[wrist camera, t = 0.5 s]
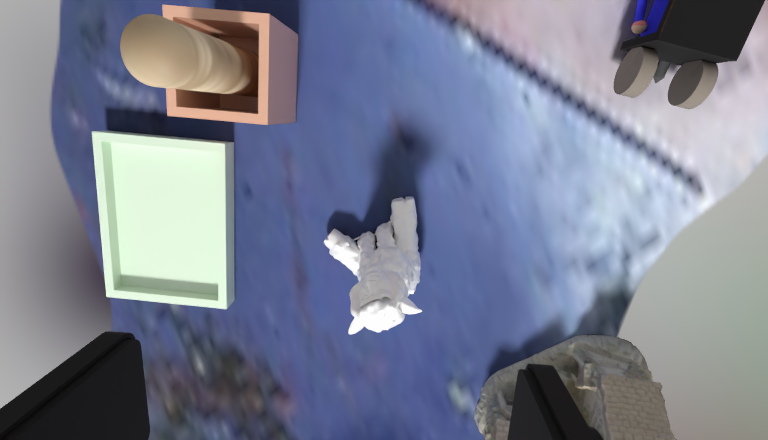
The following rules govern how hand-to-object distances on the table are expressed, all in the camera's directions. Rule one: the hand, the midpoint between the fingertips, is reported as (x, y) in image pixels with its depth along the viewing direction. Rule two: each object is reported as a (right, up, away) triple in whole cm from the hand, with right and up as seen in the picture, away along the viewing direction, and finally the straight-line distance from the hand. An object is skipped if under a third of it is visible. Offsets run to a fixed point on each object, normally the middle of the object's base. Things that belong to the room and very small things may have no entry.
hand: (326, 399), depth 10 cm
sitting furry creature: (+2, +2, +31) cm, 31 cm away
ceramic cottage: (+20, -14, +34) cm, 42 cm away
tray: (-19, +4, +31) cm, 36 cm away
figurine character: (+25, +22, +24) cm, 41 cm away
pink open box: (-10, +17, +27) cm, 33 cm away
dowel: (-10, +17, +26) cm, 33 cm away
